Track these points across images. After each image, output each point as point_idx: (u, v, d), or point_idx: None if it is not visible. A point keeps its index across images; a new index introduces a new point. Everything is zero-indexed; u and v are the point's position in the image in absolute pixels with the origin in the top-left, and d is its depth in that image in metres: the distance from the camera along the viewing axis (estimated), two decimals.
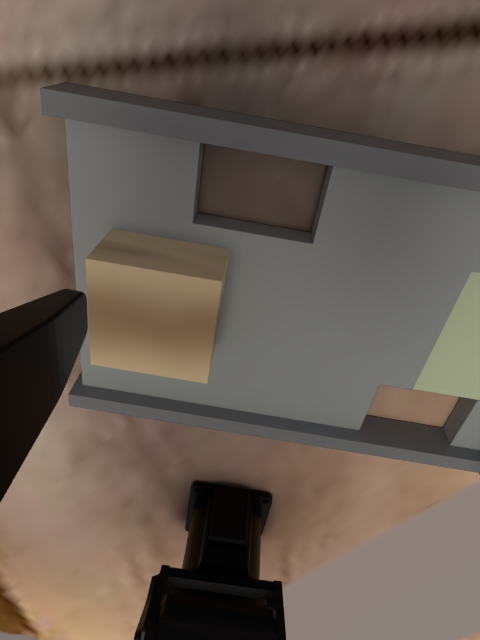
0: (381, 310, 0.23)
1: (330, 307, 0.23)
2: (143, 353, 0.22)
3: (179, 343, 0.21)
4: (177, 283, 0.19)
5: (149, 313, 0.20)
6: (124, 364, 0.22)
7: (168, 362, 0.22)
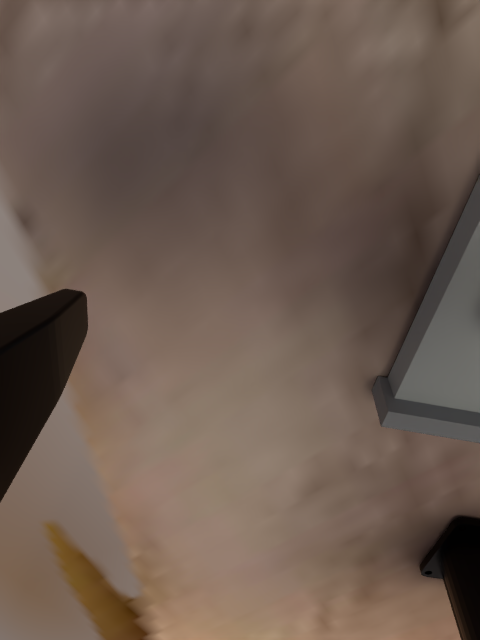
0: None
1: None
2: None
3: None
4: None
5: None
6: None
7: None
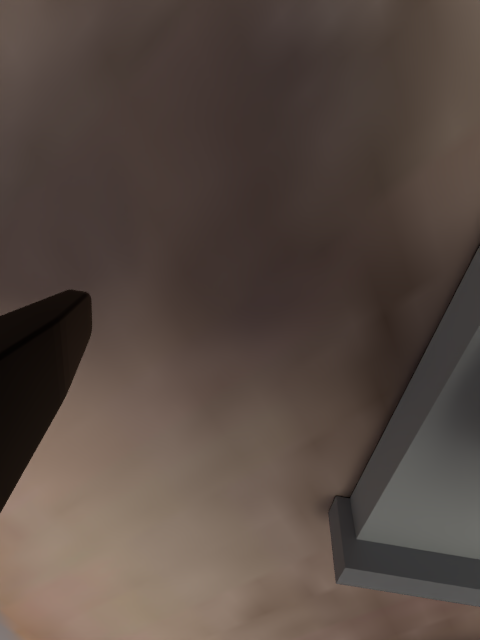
0: None
1: None
2: None
3: None
4: None
5: None
6: None
7: None
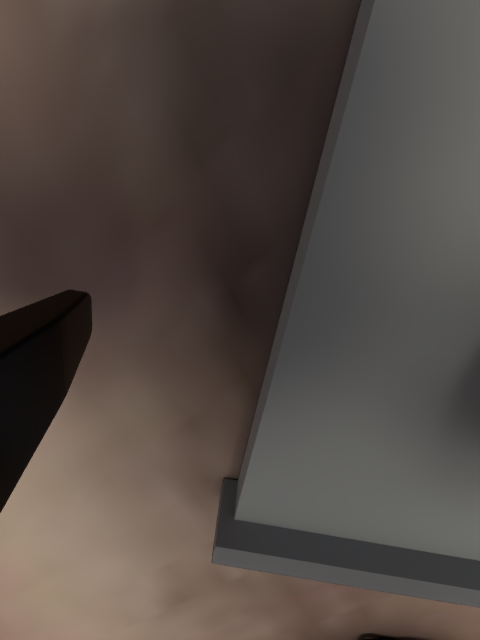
0: None
1: None
2: None
3: None
4: None
5: None
6: None
7: None
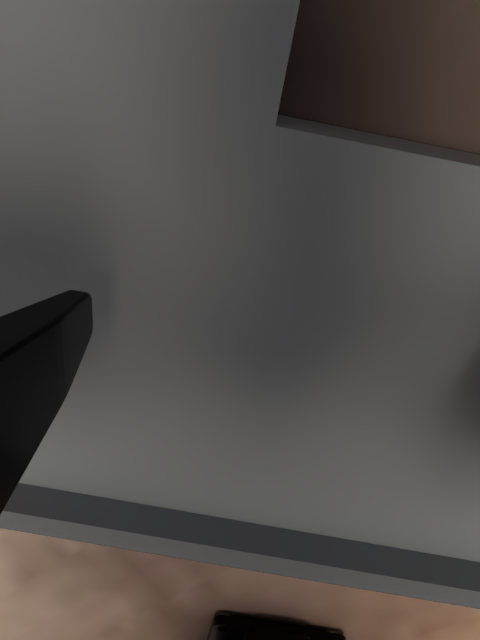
0: None
1: None
2: None
3: None
4: None
5: None
6: None
7: None
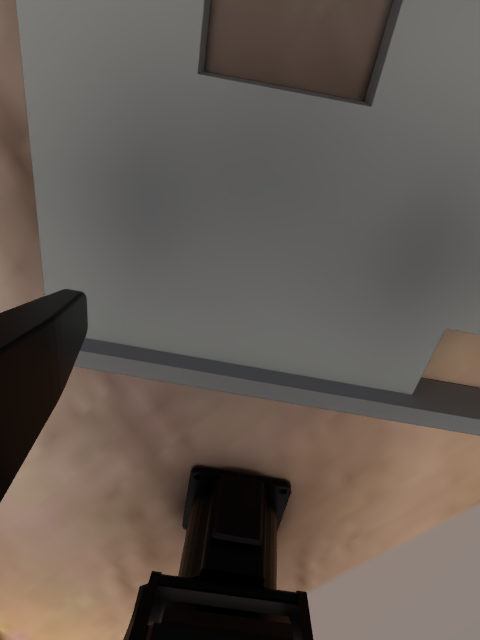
0: (460, 215, 0.17)
1: (389, 211, 0.17)
2: None
3: None
4: None
5: None
6: None
7: None
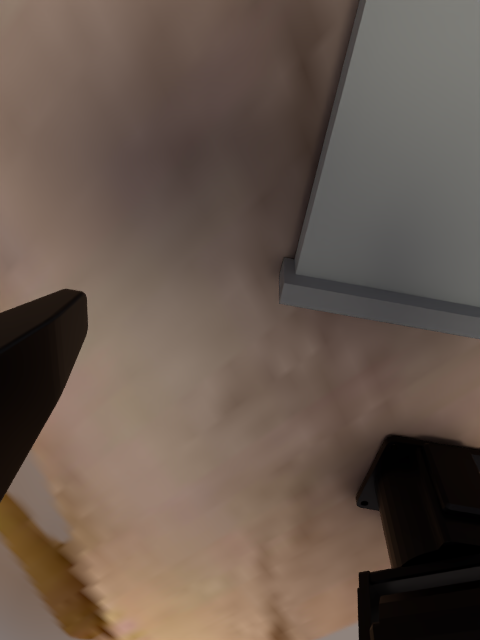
0: None
1: None
2: None
3: None
4: None
5: None
6: None
7: None
